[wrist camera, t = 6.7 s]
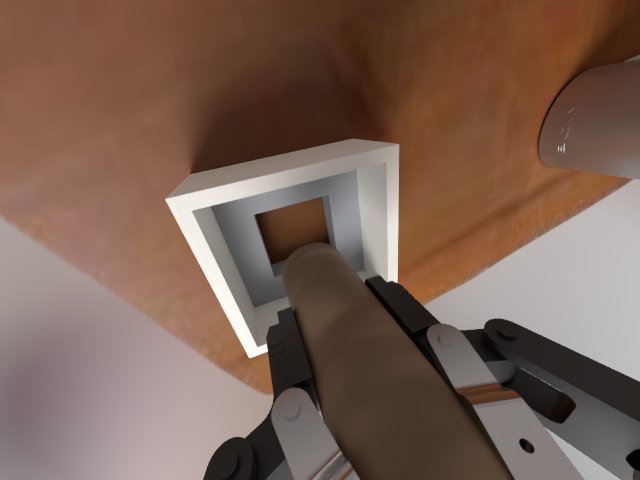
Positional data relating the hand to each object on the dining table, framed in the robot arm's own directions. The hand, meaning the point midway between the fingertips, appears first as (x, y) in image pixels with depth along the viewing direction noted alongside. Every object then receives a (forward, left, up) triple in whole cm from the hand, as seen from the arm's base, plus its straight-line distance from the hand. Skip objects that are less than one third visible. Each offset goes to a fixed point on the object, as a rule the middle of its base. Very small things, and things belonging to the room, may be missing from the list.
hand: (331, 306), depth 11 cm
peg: (0, 0, -3) cm, 3 cm away
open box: (0, 0, -9) cm, 9 cm away
